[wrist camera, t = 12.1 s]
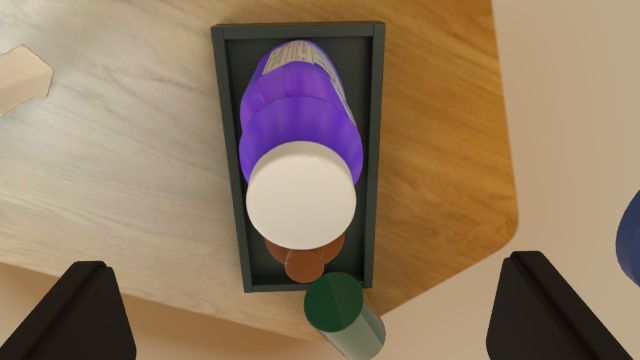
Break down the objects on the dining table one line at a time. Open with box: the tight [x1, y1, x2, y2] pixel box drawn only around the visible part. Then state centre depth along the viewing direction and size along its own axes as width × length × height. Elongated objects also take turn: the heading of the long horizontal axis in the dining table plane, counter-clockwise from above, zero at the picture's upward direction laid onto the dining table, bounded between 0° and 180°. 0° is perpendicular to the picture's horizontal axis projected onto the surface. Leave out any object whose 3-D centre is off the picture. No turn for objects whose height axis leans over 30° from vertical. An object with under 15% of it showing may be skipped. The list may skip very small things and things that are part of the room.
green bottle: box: [304, 272, 386, 360], centre depth 37 cm, size 5×5×12 cm
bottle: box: [239, 40, 363, 250], centre depth 22 cm, size 7×6×17 cm
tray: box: [211, 21, 385, 293], centre depth 33 cm, size 12×23×2 cm, turn 1°
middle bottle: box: [265, 232, 345, 283], centre depth 28 cm, size 5×5×12 cm
